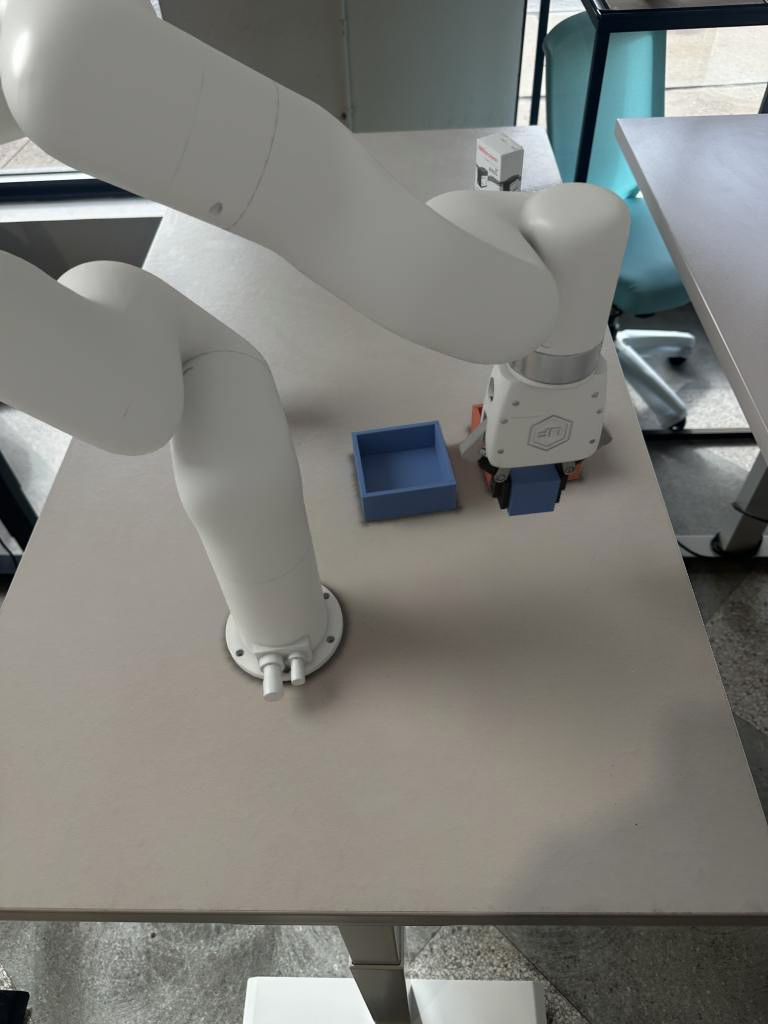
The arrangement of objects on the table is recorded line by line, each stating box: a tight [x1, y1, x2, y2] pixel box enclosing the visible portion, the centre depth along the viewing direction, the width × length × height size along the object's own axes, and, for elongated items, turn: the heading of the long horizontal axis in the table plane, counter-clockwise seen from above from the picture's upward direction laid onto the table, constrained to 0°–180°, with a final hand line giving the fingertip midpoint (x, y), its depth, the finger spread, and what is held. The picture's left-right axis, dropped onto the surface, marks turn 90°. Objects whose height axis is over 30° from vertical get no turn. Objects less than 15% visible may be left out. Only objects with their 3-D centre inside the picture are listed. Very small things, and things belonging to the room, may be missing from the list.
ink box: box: [474, 131, 525, 192], centre depth 131 cm, size 8×5×12 cm, turn 25°
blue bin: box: [351, 420, 458, 523], centre depth 90 cm, size 11×11×4 cm
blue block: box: [506, 463, 561, 517], centre depth 72 cm, size 4×4×4 cm
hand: (526, 494), depth 73 cm, fingers closed on blue block, 4 cm apart
